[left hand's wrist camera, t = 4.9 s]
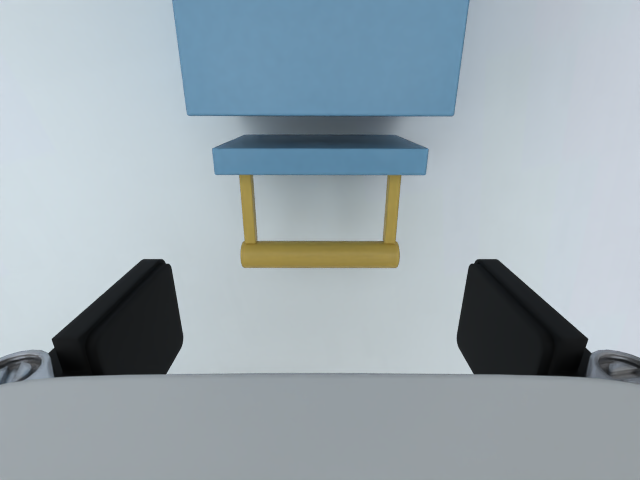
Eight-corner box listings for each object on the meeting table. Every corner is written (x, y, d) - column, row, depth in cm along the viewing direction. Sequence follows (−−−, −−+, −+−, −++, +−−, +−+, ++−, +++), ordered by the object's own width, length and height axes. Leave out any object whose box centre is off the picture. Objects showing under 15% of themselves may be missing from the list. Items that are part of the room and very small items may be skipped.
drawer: (388, 234, 25) (414, 282, 18) (251, 233, 25) (226, 282, 18) (428, -268, 16) (506, -537, 9) (214, -269, 16) (137, -540, 9)
